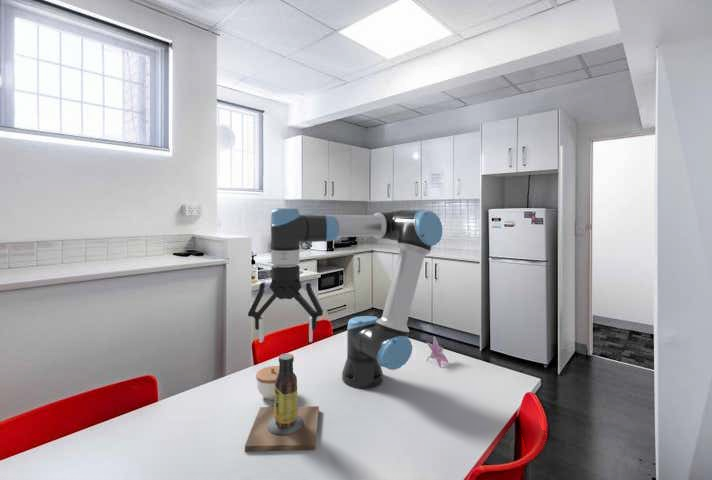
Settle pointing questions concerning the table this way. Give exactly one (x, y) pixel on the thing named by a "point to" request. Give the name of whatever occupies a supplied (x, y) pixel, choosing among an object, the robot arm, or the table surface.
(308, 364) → the table surface
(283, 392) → the sauce bottle
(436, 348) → the lily
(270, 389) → the lidded jar
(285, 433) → the walnut board
